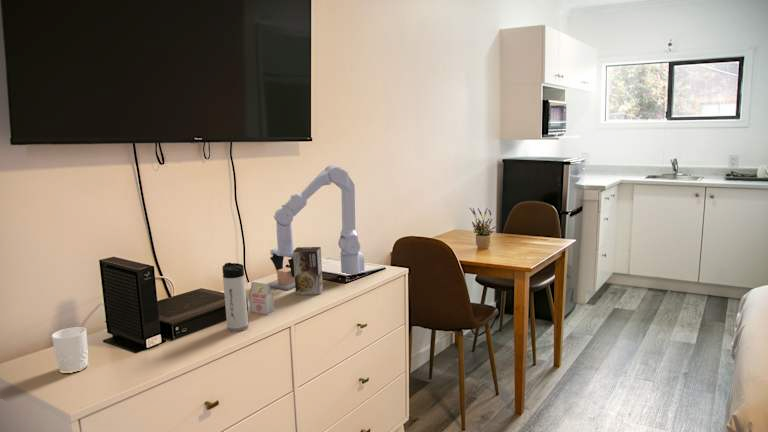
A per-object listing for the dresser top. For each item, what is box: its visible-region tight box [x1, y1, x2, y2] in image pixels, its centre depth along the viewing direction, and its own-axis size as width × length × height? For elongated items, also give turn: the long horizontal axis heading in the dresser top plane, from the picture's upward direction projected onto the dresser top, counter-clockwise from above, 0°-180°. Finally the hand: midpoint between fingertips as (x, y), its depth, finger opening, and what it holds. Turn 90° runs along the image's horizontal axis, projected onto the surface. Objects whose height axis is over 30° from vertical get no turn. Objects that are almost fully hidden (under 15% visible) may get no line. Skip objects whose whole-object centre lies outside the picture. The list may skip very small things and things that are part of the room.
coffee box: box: [293, 246, 324, 295], centre depth 207 cm, size 9×6×16 cm
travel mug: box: [222, 262, 249, 332], centre depth 174 cm, size 6×7×20 cm
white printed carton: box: [249, 281, 275, 316], centre depth 188 cm, size 4×7×10 cm, turn 65°
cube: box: [276, 266, 295, 285], centre depth 218 cm, size 5×5×5 cm
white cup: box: [51, 326, 89, 371], centre depth 149 cm, size 8×8×10 cm
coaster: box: [266, 279, 296, 292], centre depth 219 cm, size 12×12×1 cm
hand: (287, 275), depth 218 cm, fingers open, 7 cm apart
